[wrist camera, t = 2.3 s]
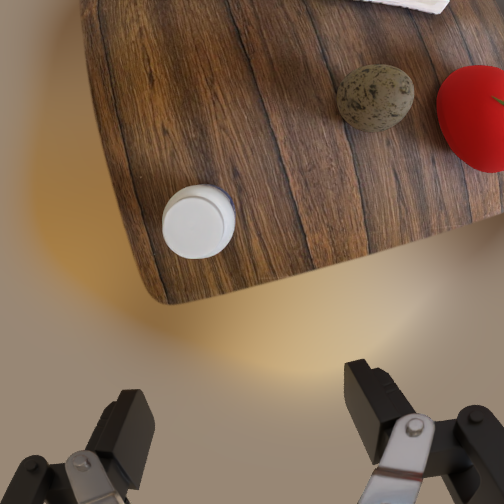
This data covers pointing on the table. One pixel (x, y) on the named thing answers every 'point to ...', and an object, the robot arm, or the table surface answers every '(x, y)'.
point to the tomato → (474, 116)
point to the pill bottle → (198, 221)
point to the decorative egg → (375, 97)
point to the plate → (416, 4)
